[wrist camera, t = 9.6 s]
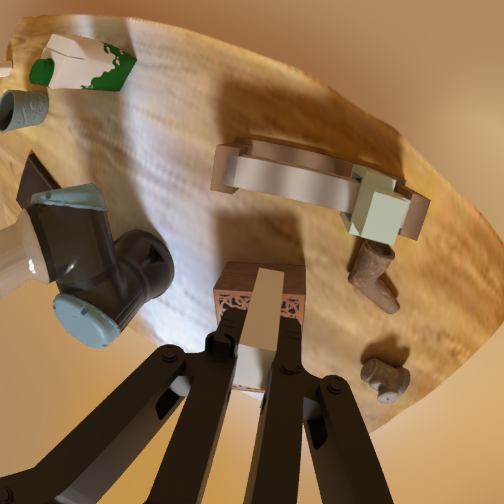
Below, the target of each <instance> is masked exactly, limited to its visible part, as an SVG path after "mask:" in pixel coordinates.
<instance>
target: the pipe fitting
mask: <svg viewBox="0 0 504 504" xmlns="http://www.w3.org/2000/svg"><path fill="white" fill-rule="evenodd" d="M361 379H362V380H363V381H365V382H367V383H369V385H370V387H371V388H373V389H375V390H377V391H378V393H379V394H378V402H380V403H382V404H389V403H393V402H395V401H396V400H397V399H398V397H399V396H400V395H401V394H403V393H404V392H405V390H406V389H407V387H408V385H409V383H410V372H409V370H407V369H405V368H403V367H397V368H393V367H391V366H389V365H388V364H386V363H384V362H382V361H380V360H378V359H376V358H371V359H369V360H368V361H367V362H366V363H365V364H364V366H363V367H362V370H361Z"/></svg>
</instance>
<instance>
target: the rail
mask: <svg viewBox="0 0 504 504" xmlns="http://www.w3.org/2000/svg"><path fill="white" fill-rule="evenodd" d="M353 164H355V165H359V166H362V167H365V168H369V167H366V166H363V165H360V164H356V163H353V162H349V161H346V160H342V159H339V158H335V157H331V156H327V155H323V154H319V153H315V152H311V151H307V150H303V149H298V148H294V147H289V146H284V145H280V144H275V143H269V142H264V141H259V140H253V139H247V138H241V137H236V140H235V143H229V144H221V145H217V146H216V152H215V159H214V166H213V173H212V180H211V188H210V190H213V191H218V192H223V193H228V194H233V193H234V192H235V191H237V190H238V189H239V188H242V189H247V190H252V191H257V192H262V193H267V194H271V195H276V196H280V197H285V198H289V199H294V200H298V201H302V202H306V203H311V204H315V205H319V206H323V207H327V208H331V209H335V210H338V211H342V212H346V213H350V214H353V211H354V207H355V204H356V200H357V197H358V193H359V189H360V185H361V182H362V179H359V178H356V180H354V179H351V178H350V176H351V172H352V167H353ZM369 169H372V170H375V171H378V172H380V173H382V174H384V175H386V176H388V177H390V178H392V179H394V180H396V183H395V187H394V190H393V193H395V194H396V195H398V196H399V197H401V198H402V199H404V200H405V201H407V202H408V203H407V207H406V210H405V213H404V216H403V219H402V222H401V225H400V228H399V231H398V234H399V235H400V236H404V237H407V238H410V239H413V240H417V239H418V236H419V234H420V231H421V228H422V225H423V222H424V219H425V216H426V213H427V210H428V207H429V204H430V201H431V200H429V199H428V198H426V197H424V196H423V195H421V194H419V193H417V192H415V191H414V190H412V189H410V188H408V187H406V186H405V183H406V180H405V179H402V178H399V177H397V176H394V175H391V174H388V173H385V172H382V171H379V170H376V169H373V168H369Z"/></svg>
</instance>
